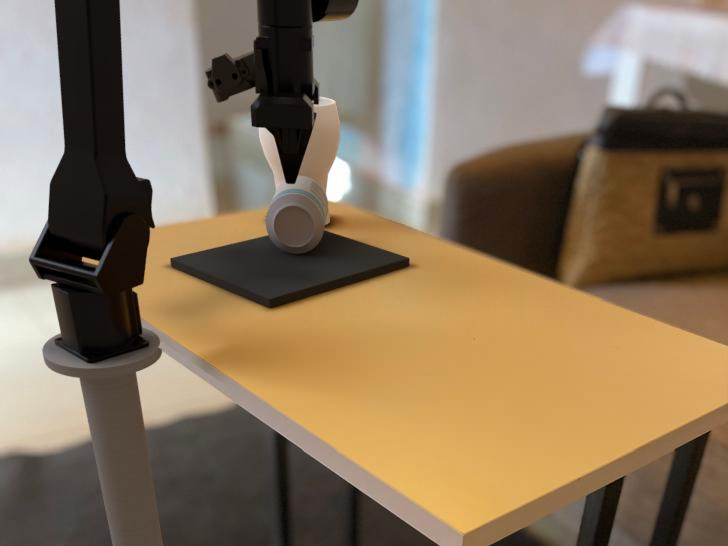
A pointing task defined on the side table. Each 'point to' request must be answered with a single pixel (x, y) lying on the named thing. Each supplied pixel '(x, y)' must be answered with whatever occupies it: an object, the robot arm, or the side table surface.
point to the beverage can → (297, 215)
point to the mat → (288, 267)
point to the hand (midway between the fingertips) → (290, 183)
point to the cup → (310, 147)
